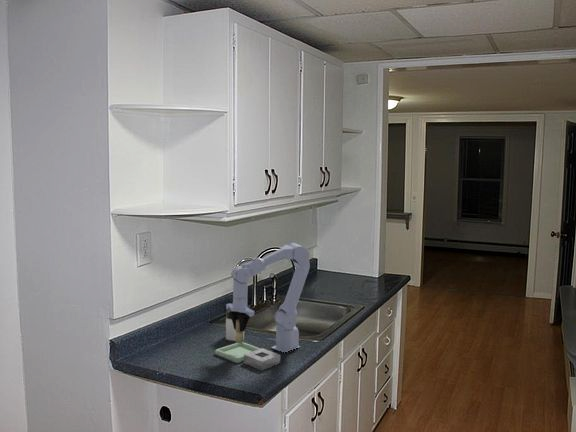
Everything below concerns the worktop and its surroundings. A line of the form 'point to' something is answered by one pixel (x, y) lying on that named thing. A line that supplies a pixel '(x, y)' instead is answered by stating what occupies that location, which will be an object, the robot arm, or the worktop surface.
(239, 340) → the pin
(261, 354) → the socket block
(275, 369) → the worktop surface
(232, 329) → the jar
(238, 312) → the robot arm
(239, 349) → the tray
